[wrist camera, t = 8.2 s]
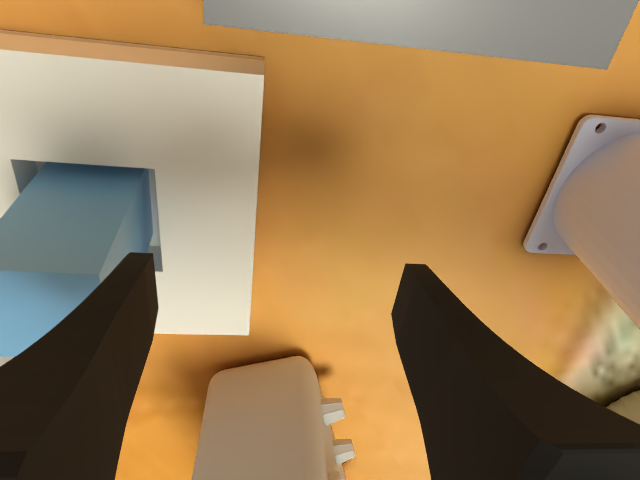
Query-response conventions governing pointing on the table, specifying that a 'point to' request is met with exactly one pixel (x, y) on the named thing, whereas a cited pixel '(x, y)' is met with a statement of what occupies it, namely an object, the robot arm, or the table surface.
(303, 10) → the grey square socket block
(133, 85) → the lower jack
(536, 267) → the table surface
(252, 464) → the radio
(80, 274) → the plug
